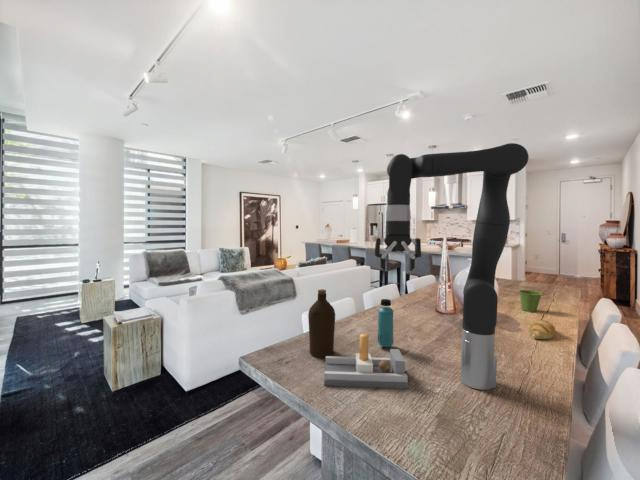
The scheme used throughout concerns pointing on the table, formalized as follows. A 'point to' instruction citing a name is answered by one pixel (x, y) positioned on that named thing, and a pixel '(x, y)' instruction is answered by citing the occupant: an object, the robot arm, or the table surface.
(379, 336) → the beverage bottle
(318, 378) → the table surface
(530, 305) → the plant pot
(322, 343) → the olive oil
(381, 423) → the table surface
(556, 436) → the table surface
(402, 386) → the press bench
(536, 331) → the croissant
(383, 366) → the walnut
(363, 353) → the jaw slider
